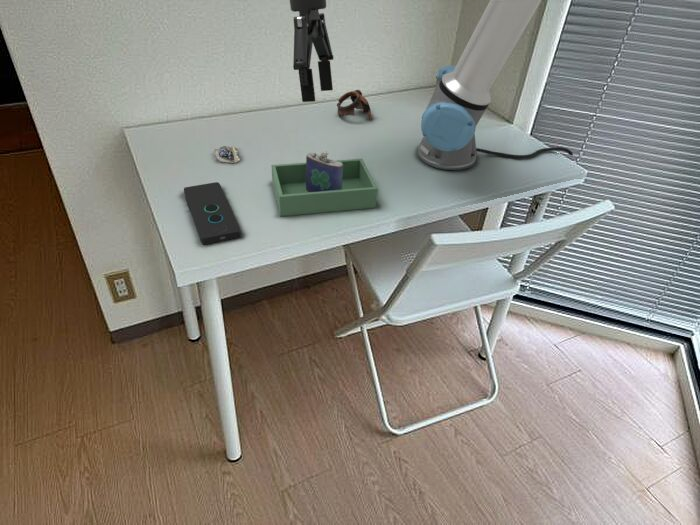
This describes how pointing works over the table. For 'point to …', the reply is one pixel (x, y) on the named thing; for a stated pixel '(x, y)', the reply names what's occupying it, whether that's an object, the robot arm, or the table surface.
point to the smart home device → (211, 213)
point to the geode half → (227, 154)
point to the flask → (323, 173)
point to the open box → (297, 200)
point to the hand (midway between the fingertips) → (318, 95)
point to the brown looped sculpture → (354, 103)
